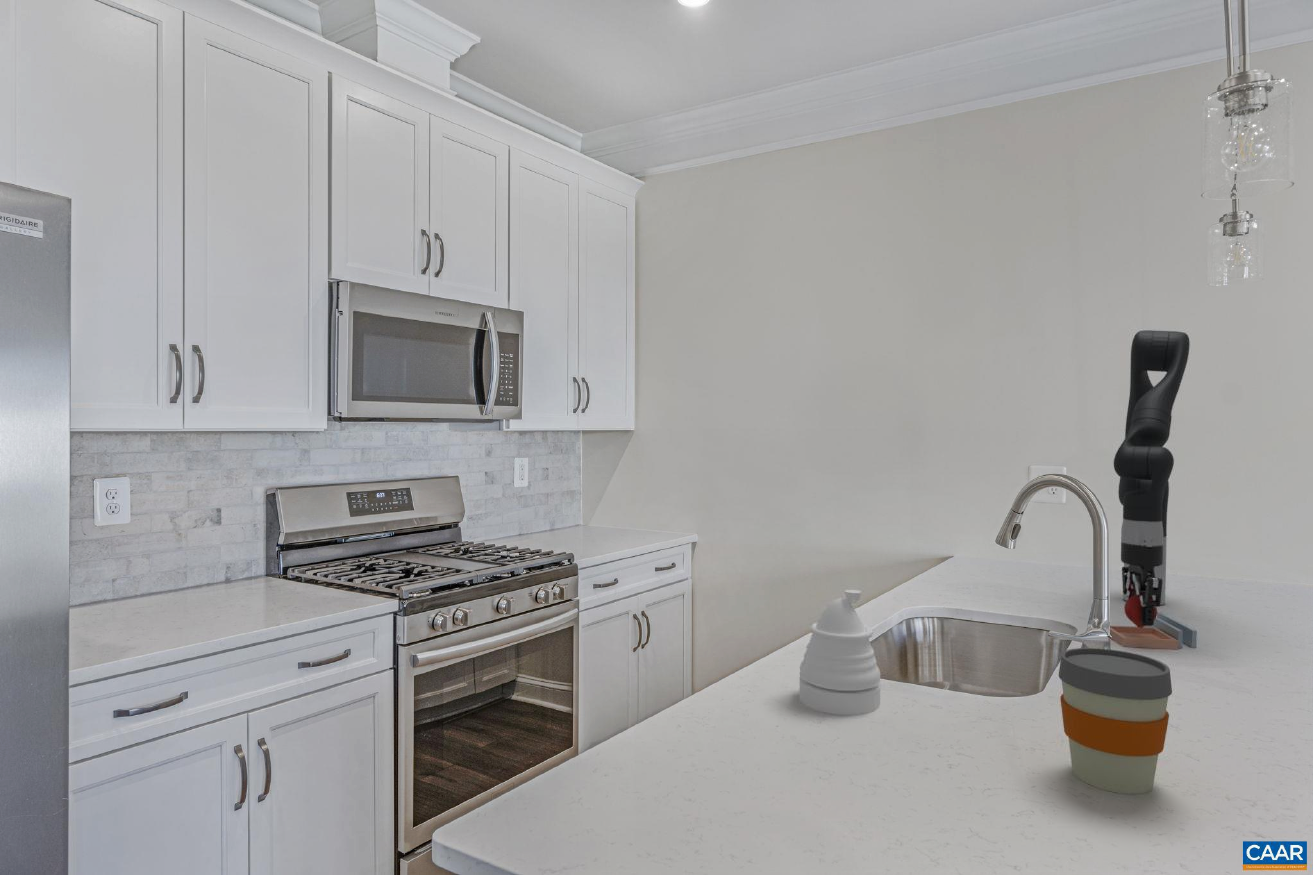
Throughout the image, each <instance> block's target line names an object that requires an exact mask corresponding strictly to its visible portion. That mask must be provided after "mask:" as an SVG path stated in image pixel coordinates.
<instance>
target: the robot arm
mask: <svg viewBox="0 0 1313 875" xmlns="http://www.w3.org/2000/svg"><path fill="white" fill-rule="evenodd" d="M1190 346H1191V345H1190V337H1189V335H1188V334H1187V333H1186V332H1184V331H1178V330H1177V331H1176V330H1175V331H1172V330H1171V331H1170V330H1151V329H1150V330H1144V329H1143V330H1139V331H1137V332H1136V333H1135V335H1134V336H1133V339H1132V343H1131V347H1130V371H1129V372H1130V373H1129V374H1130V377H1129V378H1130V379H1129V383H1130V384H1129V397H1128V405H1127V412H1126V413H1127V414H1126V419H1125V420H1126V421H1125V429H1124V430H1125V432H1124V433H1125V434H1124V439H1123V441H1122V443H1121V444H1120V445H1119V447H1118V449H1117V451H1116V453H1115V455H1114V458H1113V469H1114V472H1115V473H1116V475H1117V476H1119V477H1120V478H1119V483H1118V499H1119V502H1120V504H1121V505H1122V523H1121V524H1122V525H1121V530H1120V531H1121V533H1120V534H1121V536H1120V538H1121V539H1120V561H1121V562H1122V563H1123V566H1122V567H1121V575H1122V576H1121V578H1122V582H1121V583H1122V596H1123V597H1122V599H1123V600H1124V601H1125V602H1127V600H1128V599H1129V598H1130V597H1132V596H1133V595H1135V594H1137V595H1138V596H1139V597H1140V602H1141V606H1142V607H1141V624H1142V625H1145V626H1152V625H1153V624H1154V608H1157V607H1161V606H1163V605H1166V587H1167V586H1166V584H1167V580H1166V579H1167V540H1168V539H1167V535H1168V534H1167V526H1168V524H1167V522H1168V506H1169V496H1170V495H1169V493H1170V491H1169V490H1170V486H1169V484H1170V483H1169V480H1170V477H1171V474H1172V471H1173V469H1174V464H1175V460H1174V456H1173V453H1172V452H1171V451H1170V450H1169V449H1168V448H1167V447H1164V446H1165V444H1166V443H1167V442H1168V440H1169V437H1170V434H1171V433H1170V432H1171V425H1172V418H1173V417H1172V411H1173V407H1174V404H1175V400H1176V398H1177V395H1178V394H1179V390H1180V387H1181V385H1182V384H1181V383H1182V380H1183V377H1184V375H1185V371H1186V367H1187V364H1188V359H1189V354H1190V353H1189V352H1190ZM1148 371H1149V372H1162V373H1163V372H1166V373H1165V375H1164V376H1163V377H1162V379H1161V380H1160V381H1159V382H1158V383H1156V384H1155V385H1154V386H1153V383H1152V381H1151V380H1150V376H1149V373H1148Z"/></svg>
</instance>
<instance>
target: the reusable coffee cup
mask: <svg viewBox="0 0 1313 875" xmlns="http://www.w3.org/2000/svg"><path fill="white" fill-rule="evenodd" d="M1059 663H1060V664H1059V669H1058V678H1059V679H1060V680H1061V686H1062V694H1061V696H1060V707H1061V714H1062V724H1063V731H1064V734H1065V736H1067V738H1068V745H1069V752H1070V754H1069V755H1070V760H1071V761H1070V762H1071V770H1072V773H1073V775H1074V776H1075V777H1076V778H1078V780H1080V781H1081V782H1083V783H1084V784H1087V785H1089V786H1091V787H1094V788H1097V789H1101V790H1104V791H1107V792H1113V793H1116V794H1117V793H1118V794H1123V795H1125V794H1126V795H1141V794H1145V793H1149V792H1150V791H1152V790H1153V788H1154V784H1155V783H1154V782H1155V776H1156V771H1157V765H1158V759H1159V754H1161V753H1162V752H1163V751H1164V748H1165V747H1164V746H1165V743H1166V736H1167V732H1168V731H1167V729H1168V725H1169V719H1170V714H1169V712H1168V711H1167V708H1168V707H1167V706H1168V702H1169V697H1171V695H1172V694H1173V688H1172V678H1171V670H1170V667H1169V666H1168V665H1167V664H1165V663H1163V661H1160V660H1157V659H1155V658H1152V657H1149V656H1145V655H1142V654H1138V653H1134V652H1128V651H1124V650H1118V649H1109V648H1099V647H1080V648H1079V647H1078V648H1077V647H1076V648H1071V649H1070V648H1069V649H1065V650H1064V651H1063V652H1061V655H1060V662H1059Z"/></svg>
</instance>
